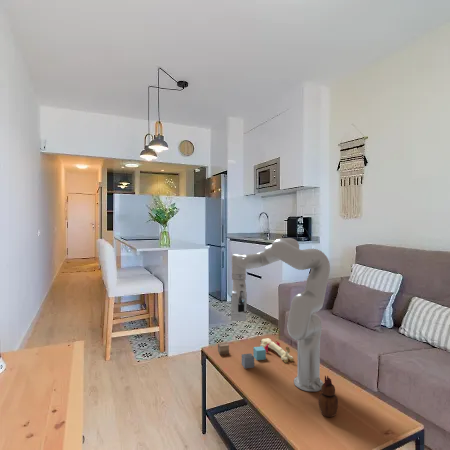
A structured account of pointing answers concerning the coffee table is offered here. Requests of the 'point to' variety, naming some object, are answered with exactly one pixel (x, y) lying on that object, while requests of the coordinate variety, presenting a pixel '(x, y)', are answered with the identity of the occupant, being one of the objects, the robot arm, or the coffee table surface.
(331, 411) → the wooden figurine
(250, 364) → the charcoal block
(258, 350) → the teal block
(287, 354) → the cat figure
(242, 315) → the skincare box
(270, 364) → the coffee table surface
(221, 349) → the walnut block
